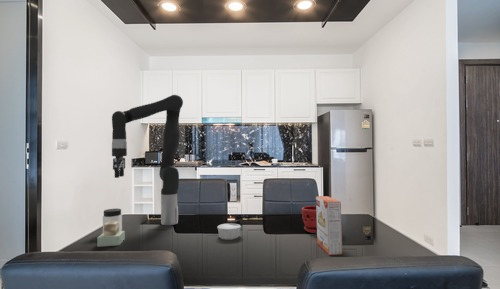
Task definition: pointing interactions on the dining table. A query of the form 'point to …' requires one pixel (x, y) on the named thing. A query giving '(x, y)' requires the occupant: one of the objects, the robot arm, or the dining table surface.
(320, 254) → the dining table surface
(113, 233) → the maple cube
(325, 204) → the cracker box
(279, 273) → the dining table surface
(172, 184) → the robot arm
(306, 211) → the plant pot
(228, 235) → the ramekin
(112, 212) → the jar
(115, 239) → the pedestal
